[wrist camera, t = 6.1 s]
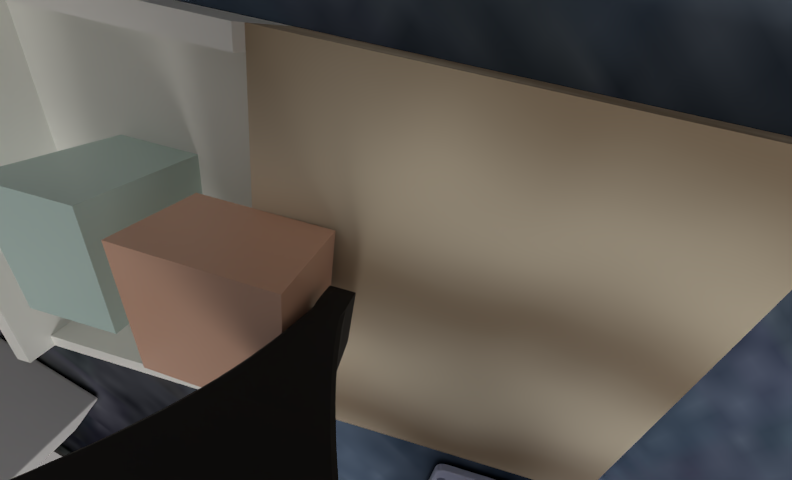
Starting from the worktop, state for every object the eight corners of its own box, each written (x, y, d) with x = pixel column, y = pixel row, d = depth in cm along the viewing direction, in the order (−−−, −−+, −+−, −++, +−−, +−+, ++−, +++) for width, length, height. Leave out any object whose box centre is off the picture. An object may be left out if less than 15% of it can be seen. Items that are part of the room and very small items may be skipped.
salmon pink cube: (326, 339, 12) (283, 415, 10) (213, 303, 13) (143, 367, 10) (335, 230, 10) (281, 294, 7) (196, 192, 10) (100, 240, 8)
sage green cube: (116, 333, 11) (30, 308, 11) (210, 257, 15) (145, 238, 15) (72, 205, 8) (-36, 175, 9) (197, 154, 12) (120, 134, 12)
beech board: (568, 434, 16) (582, 494, 14) (286, 352, 17) (259, 395, 15) (807, 139, 9) (912, 171, 7) (293, 26, 10) (244, 22, 8)
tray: (286, 352, 17) (239, 428, 14) (104, 298, 18) (17, 359, 14) (293, 26, 10) (199, 18, 6) (-14, -43, 11) (-244, -82, 7)
